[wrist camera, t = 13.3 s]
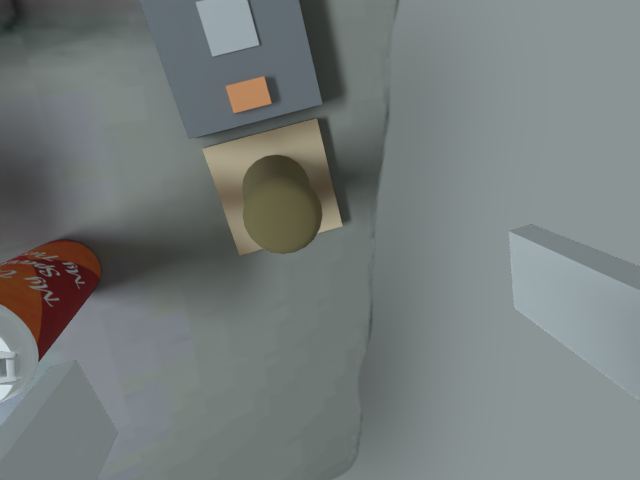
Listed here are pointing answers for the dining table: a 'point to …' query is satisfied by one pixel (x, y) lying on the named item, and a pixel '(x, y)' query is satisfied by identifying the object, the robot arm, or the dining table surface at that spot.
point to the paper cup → (40, 305)
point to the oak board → (289, 141)
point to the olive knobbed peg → (280, 205)
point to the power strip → (233, 60)
